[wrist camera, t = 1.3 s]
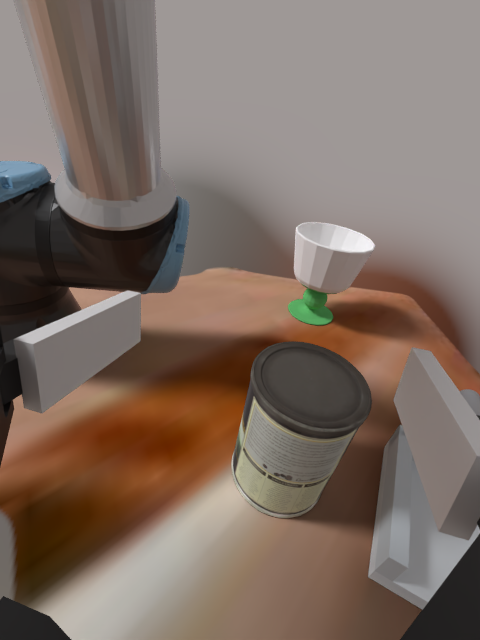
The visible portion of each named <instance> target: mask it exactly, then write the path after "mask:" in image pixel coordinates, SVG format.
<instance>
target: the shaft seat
mask: <svg viewBox="0 0 480 640" xmlns="http://www.w3.org/2000/svg"><path fill="white" fill-rule="evenodd" d="M460 393H461V394H462V396H463V397H464V399H465V400H466V401H467V403H468V404H469V406H470V407H471V408H472V410H473V411H474V413H475V414H476V415H479V416H480V396H479V394H478V393H477V392H475V391H473V390H462V391H460ZM479 534H480V529H479V527H478V525H477V527H476V529H475V531H474V532H473V534H472V536H471V538H470V539H469V541H468V540H465V539H462V538H458V537H455V536H452V535H448V534H445V533H442V532H439V531H438V528H437V525H436V522H435V519H434V516H433V513H432V511H431V508H430V505H429V502H428V499H427V496H426V493H425V490H424V487H423V484H422V482H421V479H420V476H419V473H418V470H417V467H416V464H415V461H414V458H413V455H412V452H411V450H410V447H409V444H408V441H407V438H406V435H405V432H404V429H403V426H402V425H399V426H398V428H397V429H396V431H395V432H394V434H393V435H392V437H391V438H390V440H389V441H388V443H387V444H386V446H385V447H384V454H383V462H382V470H381V478H380V486H379V494H378V502H377V510H376V518H375V526H374V534H373V542H372V550H371V557H370V565H369V573H368V577H369V578H370V579H372V580H374V581H375V582H377V583H379V584H380V585H382V586H384V587H385V588H387V589H389V590H390V591H392V592H394V593H395V594H397V595H399V596H400V597H402V598H404V599H405V600H407V601H409V602H410V603H412V604H414V605H415V606H417V607H419V608H420V609H422V610H423V608H424V607H425V606H426V604H427V603H428V602H429V600H430V599H431V598H432V596H433V595H434V594H435V592H436V591H437V590H438V588H439V587H440V586H441V584H442V583H443V582H444V580H445V579H446V578H447V576H448V575H449V574H450V572H451V571H452V570H453V568H454V567H455V566H456V565H457V563H458V562H459V561H460V559H461V558H462V557H463V555H464V554H465V553H466V551H467V550H468V549H469V547H470V546H471V545H472V543H473V542H474V541H475V539H476V538H477V537H478V535H479Z"/></svg>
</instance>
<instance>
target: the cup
mask: <svg viewBox="0 0 480 640" xmlns="http://www.w3.org/2000/svg"><path fill="white" fill-rule="evenodd" d="M374 248H375V244H374V243H373V242H372V240H371V239H369V238H368V237H366V236H364V235H363V234H361V233H358V232H356V231H354V230H351V229H349V228H345V227H341V226H338V225H333V224H328V223H320V222H308V223H302V224H300V225H299V226H297V227H296V236H295V257H294V273H295V276H296V278H297V280H298V281H299V282H300V283H301V284H302V285H303V286H305V287H306V288H308V289H306V291H305V292H304V294H303V299H297V300H294V301H292V302H291V303H290V304H289V305H288V309H289V312H290V313H291V314H292V316H293V317H295V318H296V319H298V320H299V321H302V322H304V323H307V324H311V325H326V324H328V323H330V322H331V321H332V319H333V315H332V312H331V311H330V310H329V309H328V308H327V307H325V306H324V305H325V303H326V301H327V294H336V293H340V292H342V291H345V290H346V289H348V288H349V287H350V285H351V284H352V282H353V281H354V279H355V278H356V276H357V275H358V273H359V272H360V270H361V269H362V267H363V266H364V264H365V263H366V261H367V260H368V258H369V257H370V255H371V254H372V252H373V251H374Z"/></svg>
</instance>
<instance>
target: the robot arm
mask: <svg viewBox="0 0 480 640" xmlns="http://www.w3.org/2000/svg"><path fill="white" fill-rule="evenodd" d="M14 3H15V7H16V10H17V14H18V17H19V20H20V23H21V27H22V30H23V33H24V36H25V40H26V43H27V46H28V50H29V52H30V56H31V59H32V63H33V66H34V69H35V73H36V76H37V79H38V82H39V86H40V89H41V92H42V96H43V99H44V102H45V105H46V109H47V112H48V115H49V119H50V121H51V125H52V128H53V131H54V135H55V138H56V141H57V145H58V148H59V151H60V155H61V157H62V161H63V164H64V168H65V169H64V170H63V171H62V172H61V174H60V175H59V176H58V178H57V180H56V183H52V182H50V179H51V175H50V174H49V173H48V171H47V169H46V167H44V166H43V165H41V164H35V163H32V162H24V161H0V466H1V461H2V457H3V453H4V449H5V445H6V440H7V436H8V432H9V428H10V424H11V419H12V415H13V411H14V405H13V399H15V398H16V397H18V396H19V395H21V394H22V397H23V404H24V408H26V409H29V410H33V411H36V412H39V413H43V412H45V411H46V410H47V409H49V408H50V407H51V406H53V405H54V404H55V403H57V402H58V401H60V400H61V399H62V398H64V397H65V396H66V395H68V394H69V393H70V392H72V391H73V390H75V389H76V388H77V387H79V386H80V385H81V384H83V383H84V382H86V381H87V380H88V379H90V378H91V377H92V376H94V375H95V374H96V373H98V372H99V371H101V370H102V369H103V368H105V367H106V366H107V365H109V364H110V363H111V362H113V361H114V360H116V359H117V358H118V357H120V356H121V355H122V354H124V353H125V352H126V351H128V350H129V349H131V348H132V347H133V346H135V345H136V344H137V343H139V342H140V341H141V294H147V293H168V292H170V291H172V290H173V289H174V288H175V287H176V285H177V283H178V280H179V277H180V273H181V268H182V263H183V257H184V248H185V243H186V239H187V231H188V222H189V203H188V201H186V200H185V199H182V198H181V197H179V196H176V187H175V184H174V182H173V180H172V178H171V177H170V176H169V174H168V173H167V172H166V171H165V170H163V169H162V168H161V160H160V159H161V157H160V132H159V130H160V129H159V103H158V102H159V101H158V74H157V44H156V20H155V19H156V16H155V0H14ZM69 287H74V288H86V289H97V290H109V291H120V292H122V293H120V294H118V295H115V296H113V297H111V298H108V299H106V300H104V301H101V302H99V303H97V304H94V305H92V306H90V307H87V308H85V309H83V310H82V309H81V307H80V306H79V304H78V303H77V301H76V299H75V298H74V296H73V295H72V293H71V291H70V290H69ZM394 403H395V406H396V409H397V412H398V415H399V418H400V421H401V423H402V426H403V429H404V432H405V435H406V438H407V441H408V444H409V447H410V450H411V452H412V455H413V458H414V461H415V464H416V467H417V470H418V473H419V476H420V479H421V482H422V484H423V487H424V490H425V493H426V496H427V499H428V502H429V505H430V508H431V511H432V513H433V516H434V519H435V522H436V525H437V528H438V531H439V532H442V533H445V534H448V535H452V536H455V537H458V538H462V539H465V540H468V541H469V539H470V538H471V536H472V534H473V532H474V531H475V529H476V527H477V525H478V527H479V529H480V416H479V415H476V414H475V413H474V411H473V410H472V408H471V407H470V406H469V404H468V403H467V401H466V400H465V399H464V397H463V396H462V394H461V393H460V392H459V390H458V389H457V387H456V386H455V385H454V383H453V382H452V380H451V379H450V378H449V376H448V375H447V373H446V372H445V371H444V369H443V368H442V366H441V365H440V364H439V362H438V361H437V359H436V358H435V357H434V355H433V354H432V352H431V351H427V350H422V349H417V348H411V351H410V354H409V357H408V360H407V363H406V365H405V368H404V371H403V374H402V377H401V380H400V382H399V385H398V388H397V391H396V394H395V397H394ZM0 640H71V639H70V638H69V637H68V636H67V635H66V634H65V633H64V631H63V630H62V629H61V628H60V627H59V626H58V625H57V624H56V623H55V622H54V621H53V620H52V619H51V617H50V616H47V615H45V614H43V613H40V612H38V611H36V610H34V609H31V608H29V607H27V606H24V605H22V604H20V603H18V602H15V601H13V600H11V599H8V598H6V597H4V596H3V597H2V599H1V600H0ZM400 640H480V534H479V535H478V537H477V538H476V539H475V541H474V542H473V543H472V545H471V546H470V547H469V549H468V550H467V551H466V553H465V554H464V555H463V557H462V558H461V559H460V561H459V562H458V563H457V565H456V566H455V567H454V568H453V570H452V571H451V572H450V574H449V575H448V576H447V578H446V579H445V580H444V582H443V583H442V584H441V586H440V587H439V588H438V590H437V591H436V592H435V594H434V595H433V596H432V598H431V599H430V600H429V602H428V603H427V604H426V606H425V607H424V608H423V610H422V611H421V612H420V614H419V615H418V616H417V618H416V619H415V620H414V622H413V623H412V624H411V626H410V627H409V628H408V630H407V631H406V632H405V634H404V635H403V636H402V638H401V639H400Z"/></svg>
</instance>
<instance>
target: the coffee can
mask: <svg viewBox="0 0 480 640" xmlns="http://www.w3.org/2000/svg"><path fill="white" fill-rule="evenodd" d="M250 378H251V380H250V385H249V389H248V394H247V398H246V402H245V406H244V411H243V416H242V420H241V424H240V429H239V433H238V437H237V441H236V446H235V450H234V453H233V456H232V475H233V479H234V482H235V484H236V486H237V488H238V490H239V492H240V493H241V495H242V496H243V497H244V498H245V500H246V501H247V502H248V503H249V504H251V505H252V506H253V507H254V508H256V509H257V510H258V511H260V512H262V513H265V514H267V515H270V516H273V517H278V518H292V517H297V516H300V515H302V514H304V513H306V512H308V511H309V510H310V509H312V508H313V507H314V506H315V504H316V503H317V501H318V500H319V498H320V496H321V493H322V491H323V489H324V488H325V486H326V484H327V483H328V481H329V479H330V477H331V475H332V474H333V472H334V470H335V468H336V467H337V465H338V463H339V461H340V460H341V458H342V456H343V455H344V453H345V451H346V449H347V447H348V446H349V444H350V442H351V440H352V439H353V437H354V435H355V433H356V431H357V430H358V428H359V427H360V426H361V425H362V424H363V422H364V421H365V420H366V418H367V416H368V414H369V412H370V410H371V404H372V400H371V392H370V389H369V386H368V384H367V382H366V380H365V379H364V377H363V376H362V375H361V373H360V372H359V371H358V370H357V369H356V368H355V367H354V366H353V365H352V364H351V363H350V362H348V361H347V360H346V359H344V358H343V357H341V356H340V355H338V354H336V353H335V352H332V351H330V350H328V349H326V348H323V347H320V346H317V345H314V344H310V343H304V342H283V343H277V344H274V345H272V346H269V347H267V348H266V349H264V350H263V351H262V352H260V353H259V354H258V355H257V357H256V358H255V360H254V362H253V365H252V369H251V376H250Z"/></svg>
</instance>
